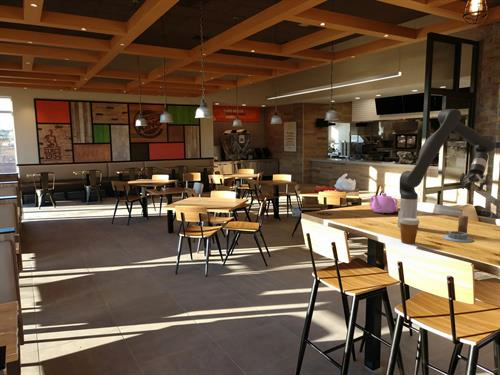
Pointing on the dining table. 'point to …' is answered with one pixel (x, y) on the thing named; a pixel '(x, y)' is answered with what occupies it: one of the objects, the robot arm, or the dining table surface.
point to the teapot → (383, 204)
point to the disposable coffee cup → (408, 229)
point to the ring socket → (457, 237)
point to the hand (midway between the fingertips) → (471, 188)
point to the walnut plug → (463, 224)
